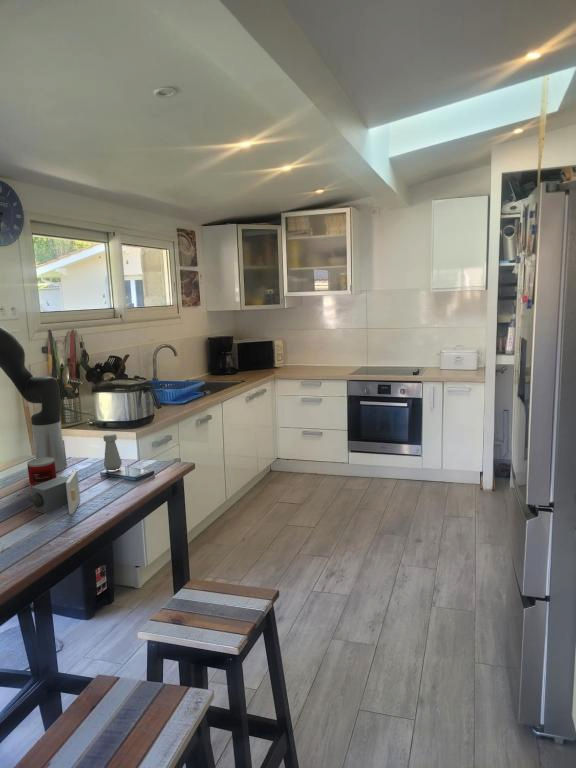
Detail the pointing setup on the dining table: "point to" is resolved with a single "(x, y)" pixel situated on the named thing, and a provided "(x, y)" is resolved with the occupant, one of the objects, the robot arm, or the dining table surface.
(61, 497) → the block
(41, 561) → the dining table surface
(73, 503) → the side door
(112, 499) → the dining table surface
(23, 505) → the dining table surface
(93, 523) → the dining table surface
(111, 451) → the salt shaker
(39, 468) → the canned food
